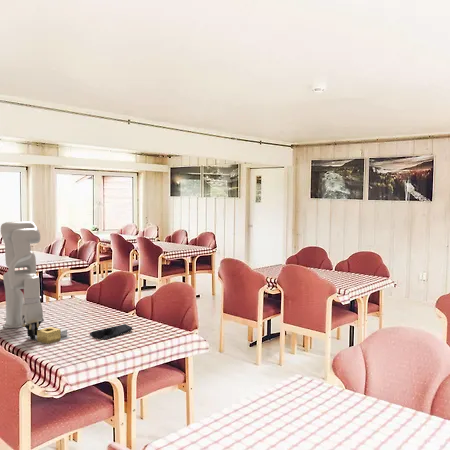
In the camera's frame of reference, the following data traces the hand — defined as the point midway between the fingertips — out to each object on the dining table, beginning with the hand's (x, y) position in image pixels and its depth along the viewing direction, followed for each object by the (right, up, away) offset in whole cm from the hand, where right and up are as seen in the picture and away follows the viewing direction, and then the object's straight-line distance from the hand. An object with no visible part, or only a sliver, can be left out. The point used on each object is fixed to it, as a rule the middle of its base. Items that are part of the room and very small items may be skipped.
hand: (32, 335), depth 248 cm
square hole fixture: (+8, -3, +1) cm, 8 cm away
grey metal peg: (0, -1, 0) cm, 1 cm away
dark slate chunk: (+37, -3, +14) cm, 40 cm away
